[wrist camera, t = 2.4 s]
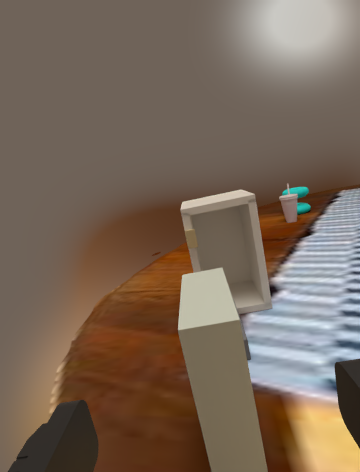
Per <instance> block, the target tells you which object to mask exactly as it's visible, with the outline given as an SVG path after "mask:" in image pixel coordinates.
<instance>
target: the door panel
mask: <svg viewBox="0 0 360 472" xmlns="http://www.w3.org/2000/svg"><path fill="white" fill-rule="evenodd" d="M178 333H179V337H180V341H181V345H182V350H183V354H184V358H185V362H186V366H187V371H188V375H189V379H190V383H191V387H192V392H193V396H194V400H195V404H196V408H197V413H198V417H199V421H200V425H201V429H202V434H203V438H204V442H205V446H206V450H207V455H208V459H209V463H210V467H211V471H212V472H268V471H267V465H266V460H265V454H264V449H263V444H262V438H261V433H260V427H259V422H258V416H257V411H256V406H255V400H254V395H253V389H252V384H251V379H250V373H249V368H248V362H247V357H246V351H245V346H244V341H243V335H242V330H241V324H240V319H239V316H238V313H237V310H236V307H235V304H234V301H233V298H232V295H231V292H230V289H229V286H228V283H227V280H226V277H225V274H224V271H223V268H217V269H211V270H206V271H201V272H196V273H190V274H185V275H182V285H181V298H180V310H179V323H178Z"/></svg>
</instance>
